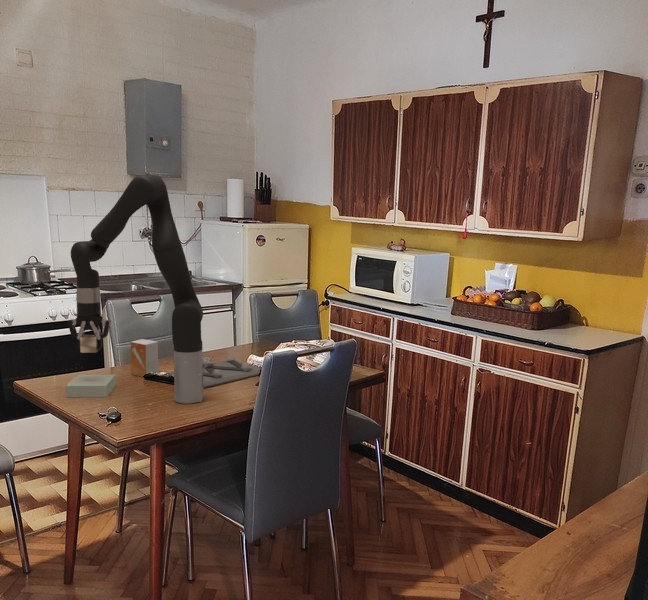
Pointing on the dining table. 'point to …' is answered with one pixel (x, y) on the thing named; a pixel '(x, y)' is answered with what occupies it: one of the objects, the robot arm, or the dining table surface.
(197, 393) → the robot arm
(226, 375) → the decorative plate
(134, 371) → the small box
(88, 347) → the maple cube
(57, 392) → the dining table surface
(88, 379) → the plate
